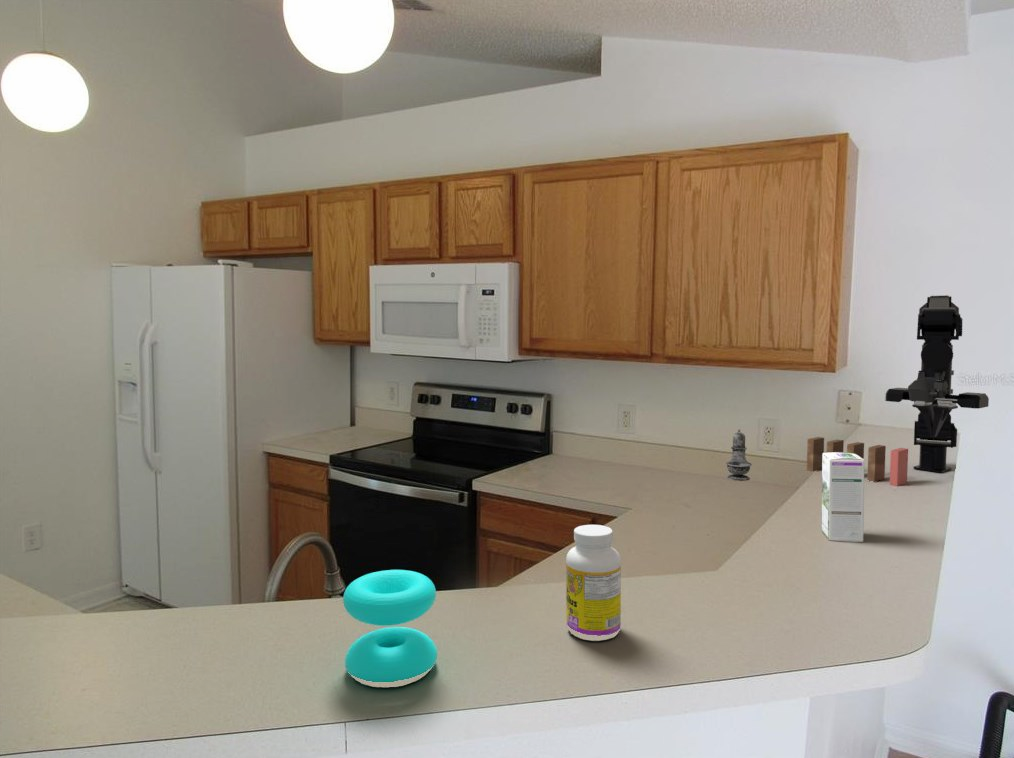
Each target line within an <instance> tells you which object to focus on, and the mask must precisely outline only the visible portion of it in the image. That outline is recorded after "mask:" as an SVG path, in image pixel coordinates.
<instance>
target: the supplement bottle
mask: <svg viewBox="0 0 1014 758" xmlns="http://www.w3.org/2000/svg"><path fill="white" fill-rule="evenodd" d="M613 534H614V532H613V530H612V528H611V527H609V526H605V525H601V524H584V525H579V526H577V527H575V528H574V529H573V539H574V542H575V546H573V547H572V548H570V549H569V551H568V552H567V554H566V559H565V561H566V562H565V564H566V567H565V571H566V583H565V585H566V590H565V592H566V595H565V596H566V597H565V598H566V602H565V603H566V604H565V605H566V607H565V608H566V609H565V610H566V616H565V617H566V626H567V625H568V626H569V627H570V628H571V629H573V630H575V631H577V632H580V633H582V634H586V635H597V636H601V635H610V634H613V633H615V632H617V631H618V630H619V629H620V630H621V628H620V627H622V626H621V625H622V624H621V620H622V619H621V618H622V617H621V614H622V613H621V612H622V610H621V607H622V604H621V601H622V600H621V598H622V597H621V594H622V593H621V592H622V591H621V590H622V589H621V588H622V587H621V586H622V582H621V580H622V579H621V578H622V577H621V575H622V572H621V571H622V566H621V565H622V563H621V561H622V559H621V555H620V553H619V552H618V550H616V549H615V548H614V547H612V543H613V540H614V535H613Z"/></svg>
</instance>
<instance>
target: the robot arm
mask: <svg viewBox="0 0 1014 758" xmlns="http://www.w3.org/2000/svg"><path fill="white" fill-rule="evenodd" d="M916 332H917V334H916V340H920V341H921V340H923V341H924V342H923V344H921V352H920V358H921V363H920V364H921V365H920V366H921V367H920V370H918V372H917V378H916V379H915V380H914V381H912V382H911V383H910V384H909V385H908V386H907V387H893V388H888V389H887V390H886V392H885V398H884V399H885V400H884V401H885V402H892V403H900V402H902V401H903V400H904V401H910V402H913V404H912V407H913V408H916V409H917V410H918V411H919V413H918V414H917V420H914V426H913V429H914V431H913V432H914V433H913V435H914V436H913V446H919V462H918V465H915V466H912V467H913V469H914V470H921V471H927V472H934V473H938V474H939V473H940V474H942V473H944V472H945V473H946V472H947V471H951V470H952V467H950V466H947V454H948V453H947V448H951V449H953V448H957V445H958V444H957V442H958V441H957V440H958V428H957V427H956V425H955V423H954V422H952V416H951V414H950V413H951V412H952V411H953V410H955V409H958V407H960V408H967V409H977V410H978V409H983V408H988V407H989V400H990V399H989V396H988V395H987V394H986V393H984V392H971V391H970V392H969V391H968V392H962V393H958V394H953V393H954V389H953V388H952V376H954V375H955V370H953V367H952V366H953V358H954V351H953V349H954V347H953V346H954V345H953V344H952V341H959V340H960V337H963V317H961V314H960V307H958V306H957V305H956V304H955V303H953V302H952V295H951V296H950V295H947V294H946V295H930V296H927V298H926V303H924V304H923V305H922V306H921V307H919V309H918V314H917V329H916Z"/></svg>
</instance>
